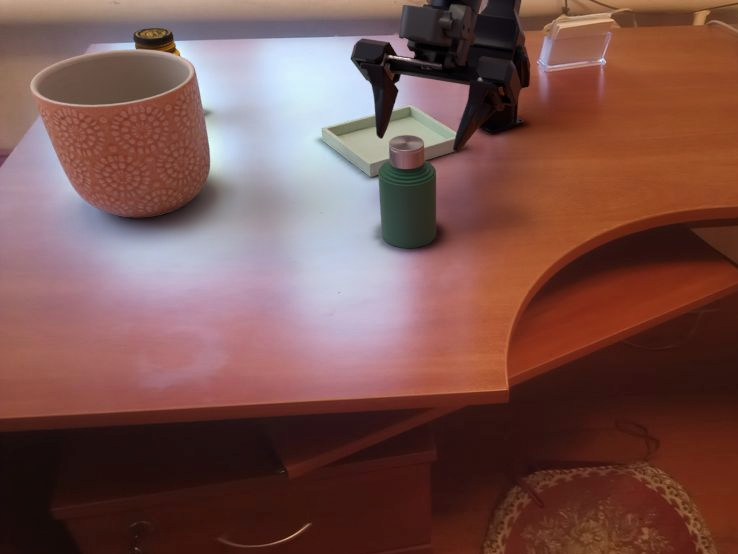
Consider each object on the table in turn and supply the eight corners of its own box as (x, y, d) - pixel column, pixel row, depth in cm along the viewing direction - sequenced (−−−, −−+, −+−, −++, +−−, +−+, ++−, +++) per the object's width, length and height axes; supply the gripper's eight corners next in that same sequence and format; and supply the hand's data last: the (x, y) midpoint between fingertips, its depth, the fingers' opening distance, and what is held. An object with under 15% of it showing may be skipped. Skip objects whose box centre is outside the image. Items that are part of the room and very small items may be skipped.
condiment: (206, 113, 109) (188, 30, 102) (164, 133, 104) (142, 47, 96) (170, 103, 112) (149, 21, 104) (127, 122, 106) (102, 37, 98)
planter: (64, 241, 82) (13, 111, 72) (87, 171, 95) (46, 52, 85) (220, 226, 86) (191, 100, 75) (222, 161, 98) (197, 45, 88)
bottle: (416, 214, 89) (414, 128, 82) (446, 237, 85) (447, 149, 78) (371, 229, 86) (365, 142, 79) (401, 254, 82) (397, 165, 75)
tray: (411, 116, 110) (411, 104, 109) (462, 148, 103) (463, 136, 101) (322, 140, 103) (321, 128, 102) (370, 177, 96) (369, 164, 94)
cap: (411, 150, 81) (411, 132, 80) (431, 163, 79) (430, 144, 78) (383, 159, 80) (382, 140, 78) (401, 172, 77) (401, 153, 76)
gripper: (351, -42, 76) (312, 99, 75) (521, -21, 72) (482, 129, 71) (385, 17, 87) (351, 140, 86) (535, 38, 83) (501, 168, 82)
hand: (416, 144), depth 81 cm, fingers open, 9 cm apart
